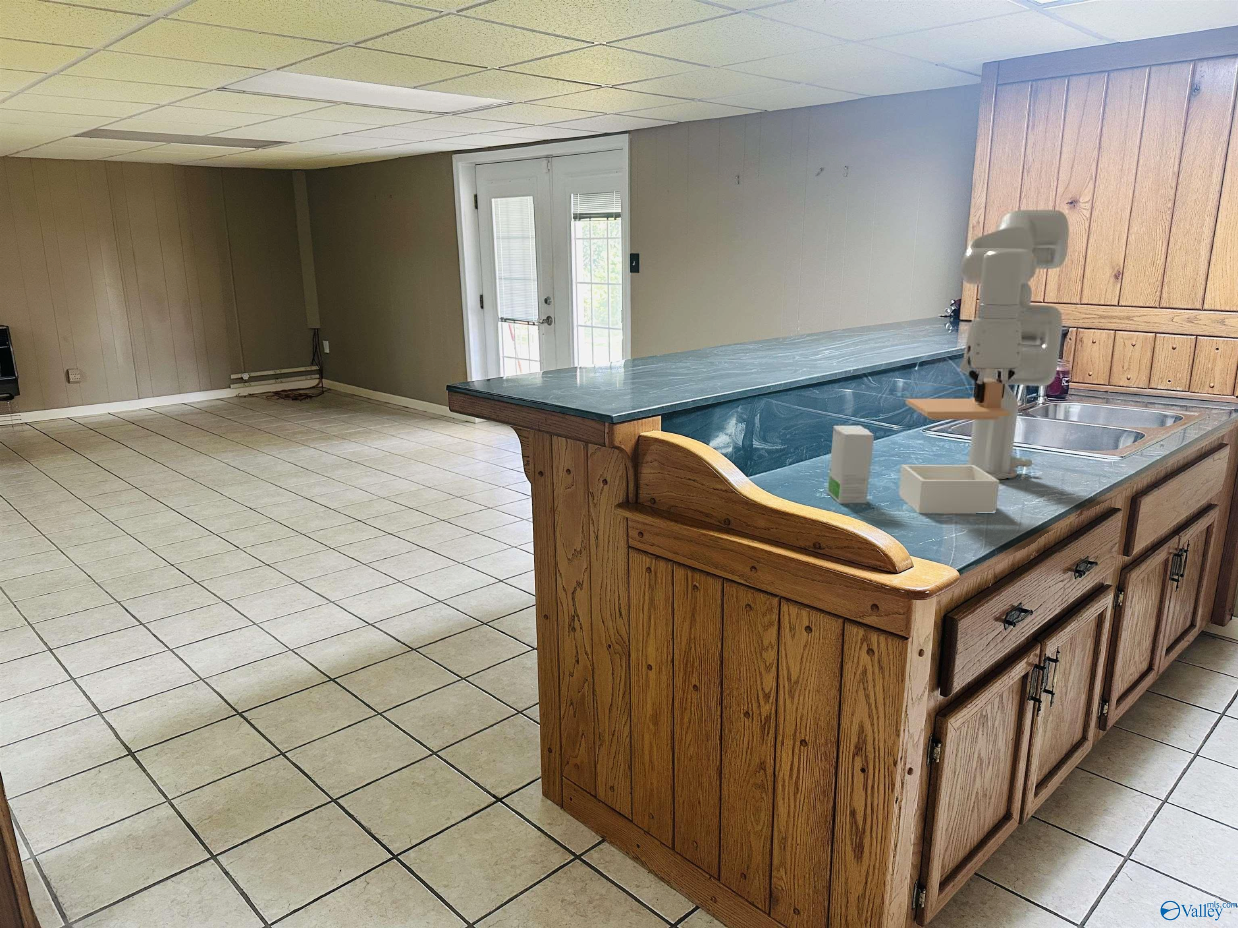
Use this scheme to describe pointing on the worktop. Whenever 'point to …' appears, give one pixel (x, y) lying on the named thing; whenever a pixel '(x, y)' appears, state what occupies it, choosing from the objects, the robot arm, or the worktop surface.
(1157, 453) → the worktop surface
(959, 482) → the tub
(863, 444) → the skincare box
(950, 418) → the lid
